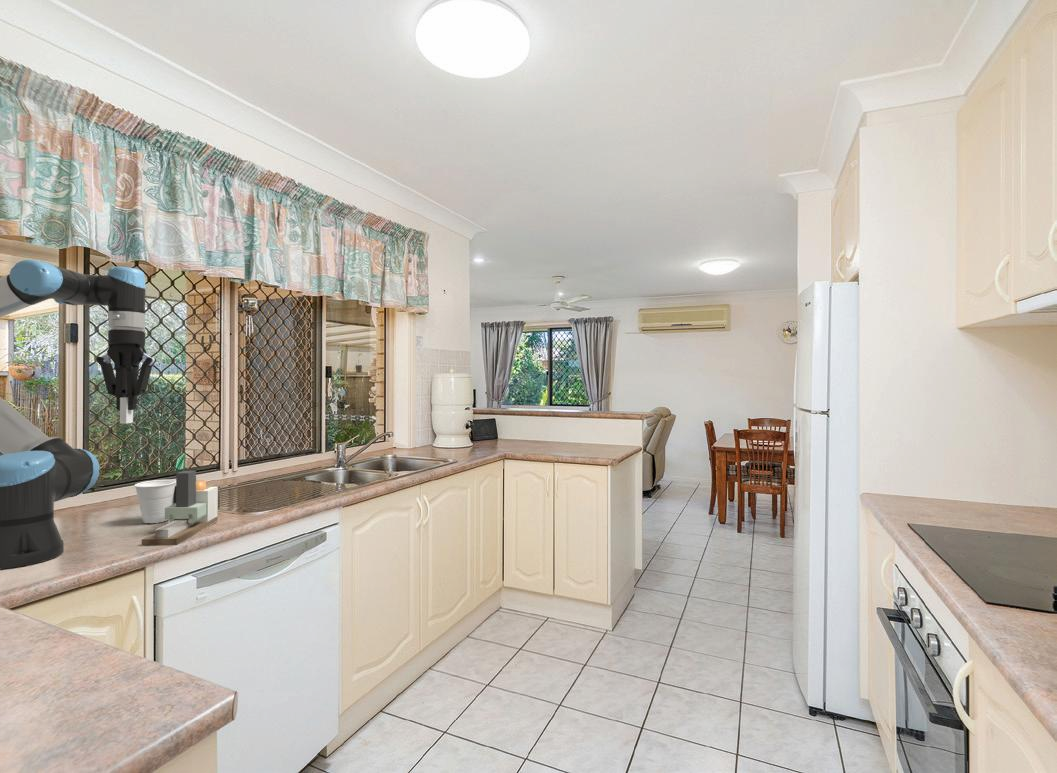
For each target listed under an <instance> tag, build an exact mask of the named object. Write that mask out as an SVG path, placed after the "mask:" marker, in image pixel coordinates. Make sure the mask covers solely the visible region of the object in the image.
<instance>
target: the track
mask: <svg viewBox="0 0 1057 773" xmlns="http://www.w3.org/2000/svg"><path fill="white" fill-rule="evenodd" d="M217 520H218V516H217V517H215V518H214V519H212V520H210V521H208V522H198V521H196V522H194V523H188V519H177V520H175V521H173V522H170V521H169V523H166V524H165V525H162V526H160V527H158V528H156V529H155V530H154V533H152V534H150V535H147V536H146V537H143V538H142V539H141V546H142V545H145V546H175V545H176V546H177V545H178V544H181V543H182V542H184V541H186V540H188V539H190V538H192V537H194V534H195V535H196V533H197V532H198V533H200V532H201V530H202V529H204V528H205V529H207V528H208V527H207V526H209V525H210V524H212V523H214V522H215V521H217ZM214 524H215V523H214ZM212 525H213V524H212ZM206 527H207V528H206ZM209 527H210V526H209ZM205 529H204V530H205ZM199 531H200V532H199ZM202 531H203V530H202ZM198 533H197V534H198ZM187 538H188V539H187ZM185 539H186V540H185Z"/></svg>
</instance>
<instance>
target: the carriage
mask: <svg viewBox="0 0 1057 773" xmlns="http://www.w3.org/2000/svg"><path fill="white" fill-rule="evenodd" d="M175 480H176V483H175V486H176V504H173V503H172V505H171V506H168V507H166V508H165V519H168V520H169V523H170V522H173V521H175V520H177V519H188V523H194V522H196V521H198V520H200V519H202V516H204V515H206V503H196V481H197V471H196V470H182V471H180V472H176V477H175Z"/></svg>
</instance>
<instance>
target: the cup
mask: <svg viewBox="0 0 1057 773" xmlns="http://www.w3.org/2000/svg"><path fill="white" fill-rule="evenodd" d="M175 486H176V479H154V480H147V481H142V482H138V483H135V484H134V487H135V492H136V495H137V500H138V504H139V509H140V512H141V517H142V522H143V523H144V524H146V523H156V524H160V523H159V522H162V523H165V522H168V521H169V519H165V508H166V507H168V506H171V505H173V495H174V489H175ZM164 521H165V522H164Z"/></svg>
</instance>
